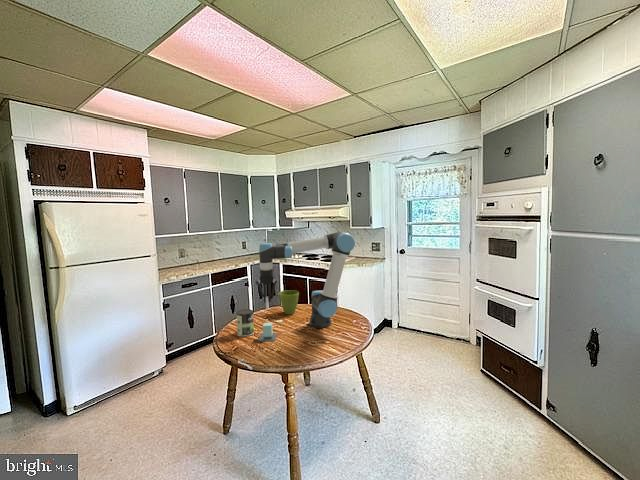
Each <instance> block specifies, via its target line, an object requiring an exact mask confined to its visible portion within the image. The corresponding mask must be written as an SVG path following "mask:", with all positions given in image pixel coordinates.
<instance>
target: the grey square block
mask: <svg viewBox="0 0 640 480" xmlns="http://www.w3.org/2000/svg"><path fill="white" fill-rule="evenodd" d="M277 336H278V333H277V332H273V334H272V336H270V337H263V332H261V333H260V334H259V338H258V341H257V342H275V341H276V340H277Z"/></svg>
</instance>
